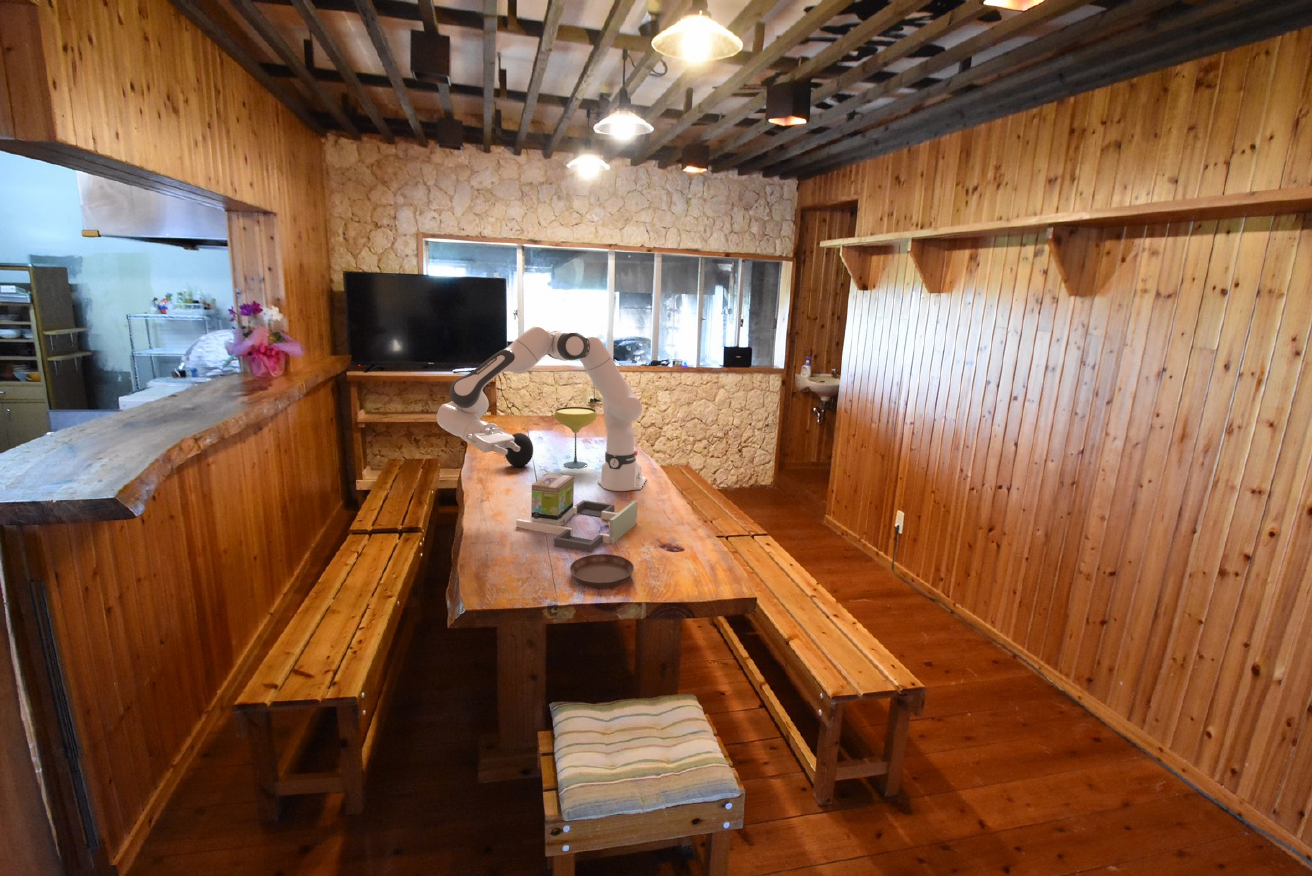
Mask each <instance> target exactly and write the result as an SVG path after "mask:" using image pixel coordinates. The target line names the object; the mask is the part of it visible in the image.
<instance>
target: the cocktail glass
mask: <svg viewBox="0 0 1312 876" xmlns="http://www.w3.org/2000/svg"><path fill="white" fill-rule="evenodd" d="M554 417H555V420H556V421H557V422H558V423H559V424H561V425H563V426H565V427H567V428H569V429H570V430H571V432H573V433H574V458H573V461H567V462H564V463H563V465H564V466H565V468H567V467H569V468H568V469H574V468H577V469H583V468H582V467H584V466H585V465H587V466H588V463H586V462H584V461H578V460H577V459H578V458H577V434H578V433H579V432H580V431H581V429H583V428H585V427H587V426H588V425H589V426H590V425H591V424H593V422H595V421H596V418H597V410H596V409H594V408H591V407H585V406H584V407H583V406H566V407H559V408H556V409H555V413H554ZM564 466H563V467H564ZM584 468H585V467H584Z"/></svg>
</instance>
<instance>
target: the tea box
mask: <svg viewBox="0 0 1312 876" xmlns="http://www.w3.org/2000/svg"><path fill="white" fill-rule="evenodd" d="M574 476H575V475H564V474H556V473H547V474H546V475H544V476H543V477H541V478H540V479H538V480H537V481H535V482H534V483H532V484H531V503H530V504H531V506H530V507H531V513H530V515H531V517H530V521H533V522H539V523H544V524H550V525H556V526H562V527H563V525H564V524H565V523H566V522H567V521H569V519H571V518H572V517H573V516H574V514H573V506H574V494H575V493H574V490H575V489H574V487H575V485H574V484H575V477H574Z"/></svg>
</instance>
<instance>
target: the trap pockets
mask: <svg viewBox="0 0 1312 876" xmlns="http://www.w3.org/2000/svg"><path fill="white" fill-rule="evenodd" d="M574 506H576V507H577V514H578V513H581V514H580V515H584V514H585V516H590V515H591V517H596V518H597V517H599V518H601V515H602V511H607V512H613V513H616V512H615V508H616V507H615V504H611V503H605V502H597V501H591V500H585V499H583V500H580V501H579V502H578V503H576V504H575V505H574ZM553 544H554V545H553V546H554V547H558V548H563V549H568V548H569V550H574V549H575V550H574V551H579V550H580V552H585V553H592V552H594V550H596V549H597V548H598V547H599V546H600V545H601V544H604V543H603V535H599V534H597V535H596V536H595V537H594V538H593V539H589V538H584V537H579V536H578V537H577V536H573V535H572V536H571V530H570V529H567V530H565V531H564V532H562V533H561V534H560V535H557V536H556V537H554V538H553ZM595 548H596V549H595Z"/></svg>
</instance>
